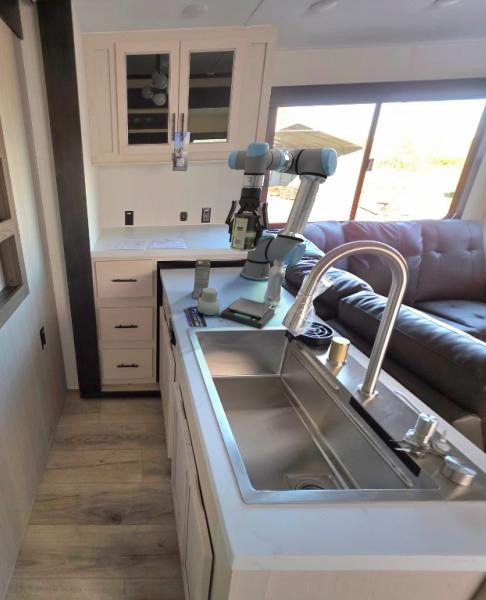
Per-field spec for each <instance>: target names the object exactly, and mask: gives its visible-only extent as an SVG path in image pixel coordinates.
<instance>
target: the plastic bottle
mask: <svg viewBox="0 0 486 600" xmlns="http://www.w3.org/2000/svg"><path fill="white" fill-rule="evenodd" d="M284 266H285V265H284V260H281V259H275V261H274V262H273V265H272V266H270V270H269V273H268V280H267V287H266V290H265V293H264V296H263V303H264V304H268V305H272V307H275V306H278V305H280V303H281V292H282V285H283V282H284V279H285V276H286V270H285V267H284Z"/></svg>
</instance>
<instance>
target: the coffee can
mask: <svg viewBox="0 0 486 600" xmlns="http://www.w3.org/2000/svg"><path fill="white" fill-rule="evenodd" d="M233 218H234V222H233V230H232V237H231V242H230V244H229V245H230V246H229V248H230V249H231V250H234V251H238V252H248V251H254V250H255V248H256V246H254V243H255V237H256V231H257V230H258V229H259V228H258V225H257V224H258V219H260V218H261V219H262V213H259V215H258V216H254V215H253V213H252V212H248V211H246V212H243V213H242V214H237V212H234V214H233Z"/></svg>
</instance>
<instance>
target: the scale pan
mask: <svg viewBox="0 0 486 600" xmlns="http://www.w3.org/2000/svg"><path fill="white" fill-rule="evenodd" d="M236 300H237V301H236ZM236 300H235V301H236V302H235V301H234V302H235V303H233V302H232V303H233V304H232V303H231V304H232V305H231V304H230V305H231V306H230V305H229V306H230V307H229V306H227V307H228V310H231V311H235V312H238V313H242V314H245V315H249V316H252V317H256V318H259V319H261V318H262V317H263V316H264V315H265V314H266V313H267V312H268V311H269V310H270V309H272V307H273V306H272V305H268V304H265V302H260V301H256V300H252V299H248V298H244V297H239V298H238V299H236Z"/></svg>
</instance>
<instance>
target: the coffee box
mask: <svg viewBox="0 0 486 600" xmlns="http://www.w3.org/2000/svg"><path fill="white" fill-rule="evenodd" d="M194 267H195V269H194V279H193V294H192V295H193V296H192V298H193V299H197V300H198V299H199V298H201V297H202V290H203V289H204V288H209V282H210V275H211V260H210V259H195V266H194Z"/></svg>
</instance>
